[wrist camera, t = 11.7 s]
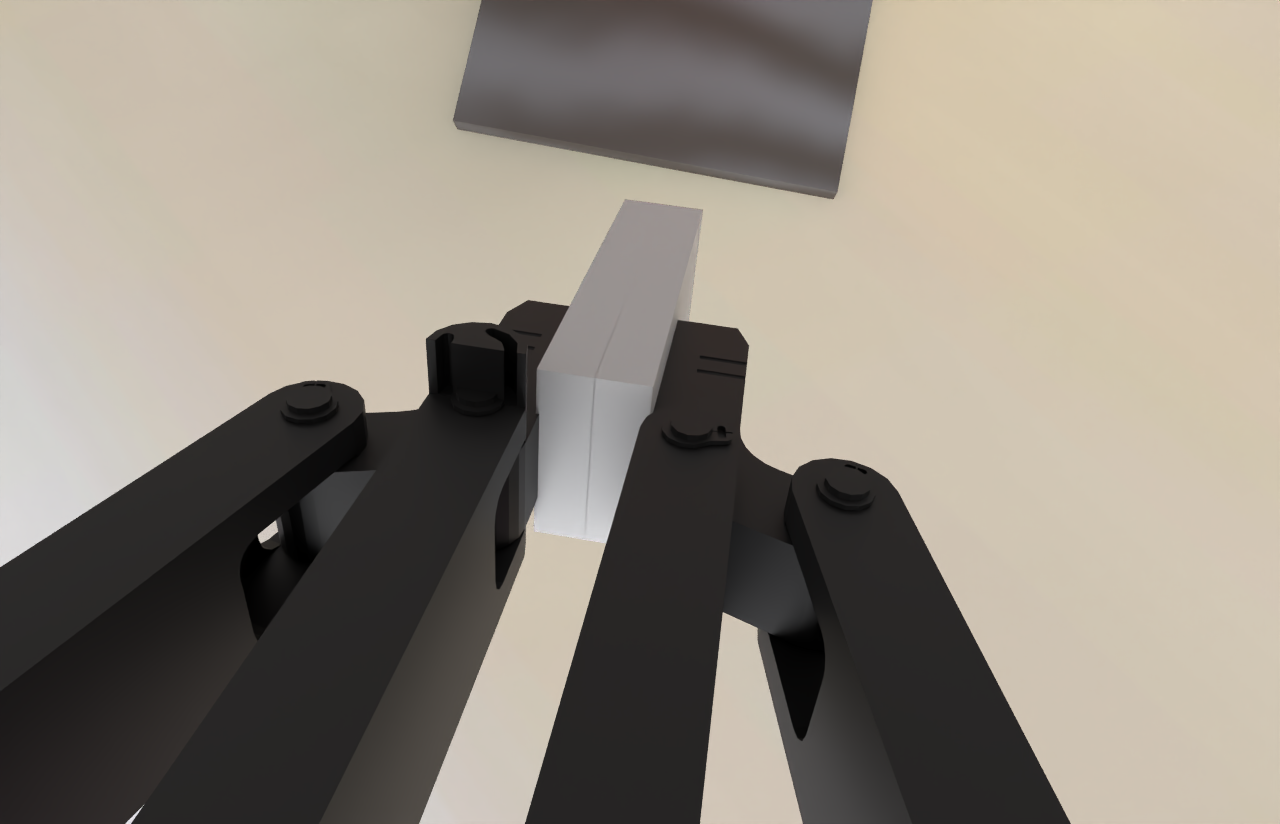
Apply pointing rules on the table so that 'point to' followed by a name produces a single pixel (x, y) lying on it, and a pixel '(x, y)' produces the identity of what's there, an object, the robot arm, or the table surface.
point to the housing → (674, 83)
